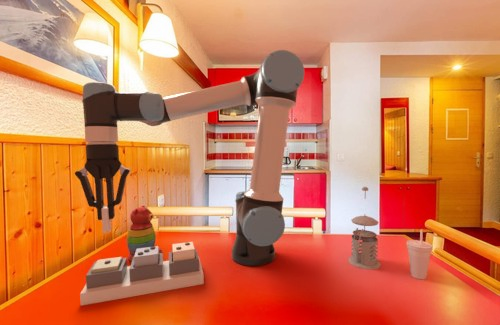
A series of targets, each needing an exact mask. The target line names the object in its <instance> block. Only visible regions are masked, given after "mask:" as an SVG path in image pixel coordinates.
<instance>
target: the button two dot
mask: <svg viewBox="0 0 500 325" xmlns="http://www.w3.org/2000/svg"><path fill="white" fill-rule="evenodd" d="M172 252H173V262H174V261H181V260H188V259H195V246H194V242H193V241H188V242H179V243H172Z"/></svg>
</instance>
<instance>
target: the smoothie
mask: <svg viewBox="0 0 500 325" xmlns="http://www.w3.org/2000/svg"><path fill="white" fill-rule="evenodd" d="M423 231H424V229H423V228H421V229H420V231H419V232H420V235H419V236H420V237H419V240H418V239H408V240H407V241H406V247H407V252H408V262H409V270H410V276H411V277H413V278H414V279H417V280H426V279H427V275H428V269H429V265H430V264H429V263H430V258H431V253H432V251H433V249H434V247H433V245H432V244H431V243H430V242H427V241H424V240H423V239H424V238H423V233H424V232H423Z"/></svg>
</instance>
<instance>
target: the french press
mask: <svg viewBox="0 0 500 325" xmlns="http://www.w3.org/2000/svg"><path fill="white" fill-rule="evenodd" d="M361 190H362V191H363V192H364V198H366V197H367V195H366V194H367V193H366V192H367V191H369V187H367V186H363V187H362V188H361ZM351 223H352V224H355V225H358V226H362V227H363V228H362V229H359V228H358V227H357V228H356V229H355V230H353V231H352V233H353V234H352V235H351V256H350V257H349V258H348V262H349V264H351V265H352V266H354V267H356V268H358V269H364V270H377V269H379V268H381V265H382V264H381V262H379V260H378V249H379V248H378V247H379V246H378V244H379V242H378V241H379V239H378V238H377V235H378V234H377V233H376V232H374V231H371V230H366V227H373V226H374V227H375V226H377V225H378V224H379V221H378V220H377V219H375V218H374V217H371V216H367V215H359V216H355V217H353V218H352V219H351ZM376 245H377V246H376Z"/></svg>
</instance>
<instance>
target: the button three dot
mask: <svg viewBox="0 0 500 325" xmlns="http://www.w3.org/2000/svg"><path fill="white" fill-rule="evenodd" d="M159 248H160V247H159V245H156V246H154V247H146V248H138V249H136V252H135V255H134V267H140V266H147V265H154V264H159Z"/></svg>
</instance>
